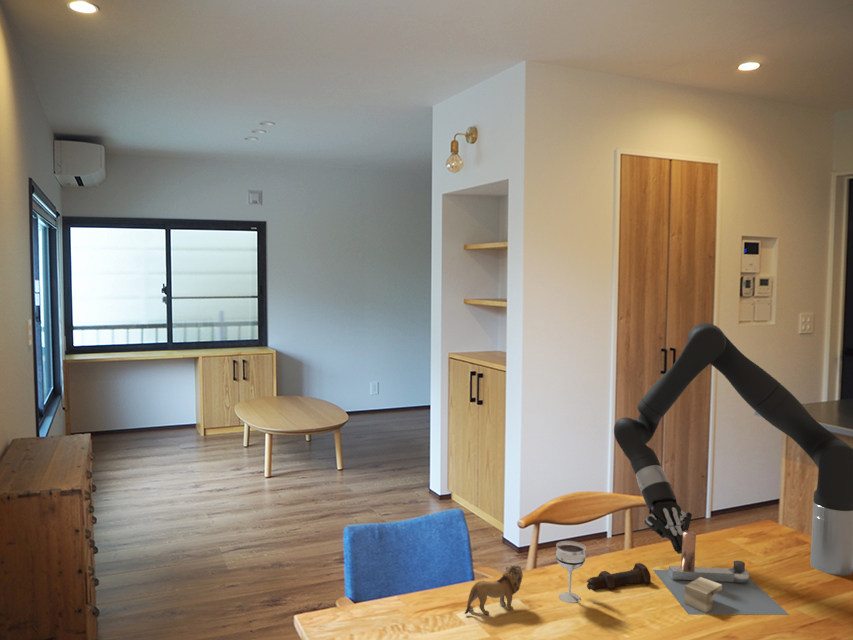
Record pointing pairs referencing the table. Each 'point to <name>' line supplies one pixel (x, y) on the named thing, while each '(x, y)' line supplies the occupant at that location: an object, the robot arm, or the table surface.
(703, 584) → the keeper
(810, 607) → the table surface
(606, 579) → the bolt
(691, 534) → the link
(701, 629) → the table surface
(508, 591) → the lion figurine
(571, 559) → the wineglass
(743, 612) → the board
